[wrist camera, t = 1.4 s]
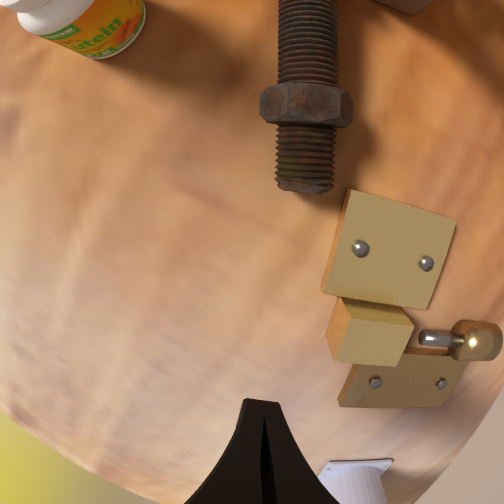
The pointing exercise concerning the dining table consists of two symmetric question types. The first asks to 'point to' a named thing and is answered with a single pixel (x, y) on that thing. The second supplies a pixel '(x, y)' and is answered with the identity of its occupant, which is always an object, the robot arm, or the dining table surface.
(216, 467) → the robot arm
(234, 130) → the dining table surface
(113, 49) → the supplement bottle
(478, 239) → the dining table surface
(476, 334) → the fixed leaf
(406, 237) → the loose leaf
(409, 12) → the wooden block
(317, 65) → the bolt
